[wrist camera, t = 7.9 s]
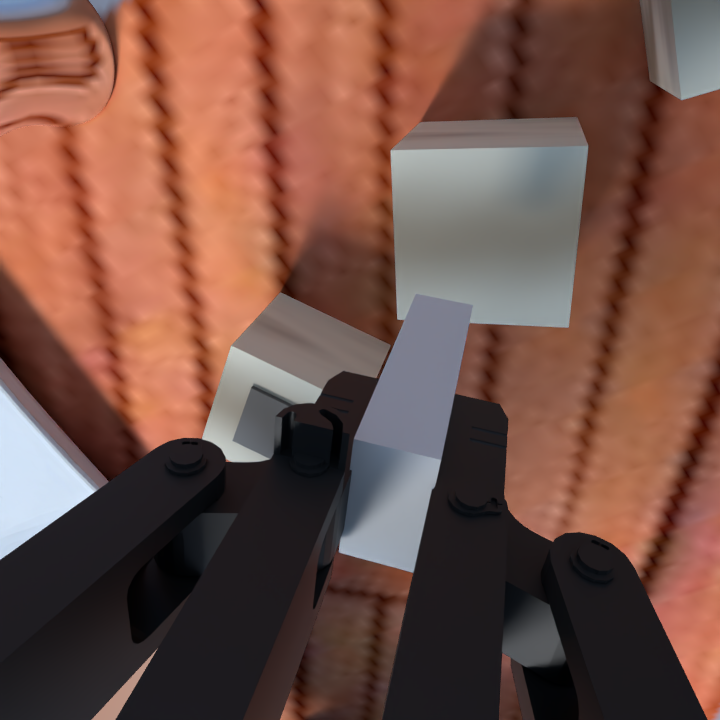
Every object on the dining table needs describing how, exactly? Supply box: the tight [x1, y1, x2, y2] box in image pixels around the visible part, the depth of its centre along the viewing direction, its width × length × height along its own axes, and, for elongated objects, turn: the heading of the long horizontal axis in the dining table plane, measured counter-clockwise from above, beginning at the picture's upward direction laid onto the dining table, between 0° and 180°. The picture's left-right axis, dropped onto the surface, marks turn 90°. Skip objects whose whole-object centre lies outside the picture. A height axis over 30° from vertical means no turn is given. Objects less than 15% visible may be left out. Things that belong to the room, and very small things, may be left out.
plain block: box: [391, 117, 588, 328], centre depth 23 cm, size 6×6×6 cm
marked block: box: [202, 292, 391, 462], centre depth 29 cm, size 6×6×6 cm
